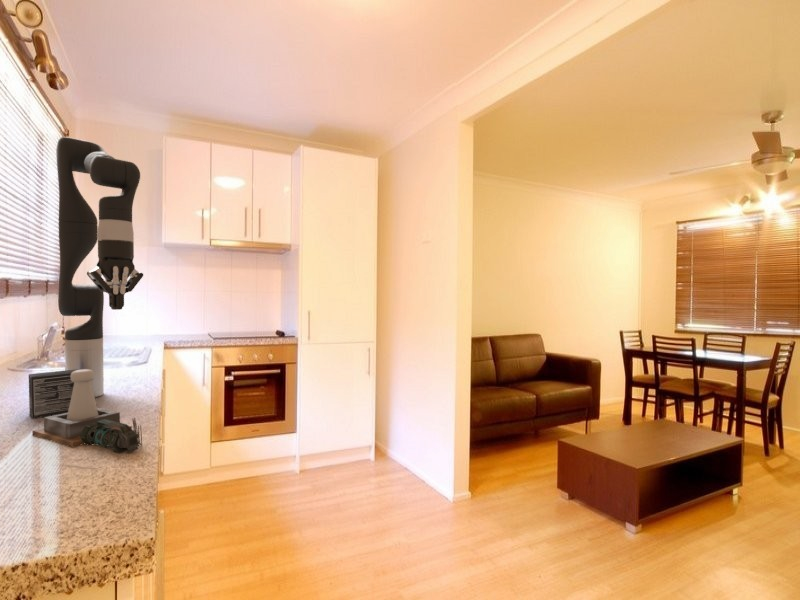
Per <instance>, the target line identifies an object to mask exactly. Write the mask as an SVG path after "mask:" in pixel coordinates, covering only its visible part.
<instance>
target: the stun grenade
mask: <svg viewBox="0 0 800 600" xmlns="http://www.w3.org/2000/svg"><path fill="white" fill-rule="evenodd" d="M131 419H132V429H131V428H130V427H129V426H130V425H129V424H127V423H123V422H120V423H119V422H115V421H111V420H107V419H104V420H100V421H98V422H96V423H92V424H89V425H85V427H84V429H83V431H82V433H81V435H80V438H81V439H82V441H83V442H84V443H85V444H84V445H87V444H88V446H93V445H92V444H94V445H96V446H100V447H104V448H107V449H111V450H112V451H113V452H114V453H116V454H120V453H121V454H122V453H125V452H126V454H130V453H133V452H136V451H138V450H139V447H140V446H141V447H142V446H143V437H142V435H143V433H142V425H141V424H140V425H137V420H136V417H132V418H131ZM105 424H108V425H111V426H115V427H119V428H120V430H117V429H113V428H109V427H104V426H103V425H105Z"/></svg>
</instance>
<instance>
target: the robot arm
mask: <svg viewBox="0 0 800 600" xmlns="http://www.w3.org/2000/svg"><path fill="white" fill-rule="evenodd" d="M55 154H56V155H55V156H56V170H57V178H58V179H57V180H58V181H57V182H58V196H59V197H58V242H59V245H58V246H59V277H58V278H59V281H58V294H57V303H58V304H57V305H58V310H59V313H60V315H62V316H64V317H82V316H84V317H85V316H86V317H87V316H89V319H88V320H87V321H86V322H84V323H83V324H80V325H77V326H74V327H71V328H68V329H66V330H65V332H64V349H65V351H64V355H65V356H64V357H65V358H64V359H65V362H64V363H65V365H64V371H65V370H74V369H78V370H82V369H89V370H92V371H93V372H94V379H93V380H91V383H92V388H93V392H94V397H95V398H97V397H101V396H103V395H104V387H105V386H104V380H105V379H104V377H105V376H104V330H103V329H104V327H103V326H104V325H103V324H104V319H103V318H104V306H105V305H104V303H105V301H104V300H105V297H104V296H105V295H104V293H107V294H108V306H109V308H110V309H111V310H116V311H118V310H122V309H123V308H124V307H125V294H126V293H130V292H133V290H134V289H135V287H136V286H137V285H138V283H140V282H141V280H142V278H144V273H143V272H139V271H138V270H137V269H135V267H136V266H135V264H134V257H135V255H134V254H135V253H134V248H135V247H134V243H135V238H134V233H135V232H134V226H133V205H134V200H135V195H136V193H137V189H138V187H139V184H140V180H141V172H140V169H139V167H138V166H137V165H136V164H135V163H134V162H131V161H128V160H123V159H119V158H118V159H117V158H115V157H113V156H112V155H110V154H108V153H107V152H106V151H105V149H104V148H103V147H102V146H101V145H99V144H97V143H96V142H92V141H90V140H89V141H88V140H83V139H78V138H73V137H68V136H61V137H59V138H58V140H57V142H56V147H55ZM73 172H76V173H82V174H87V175H88V174H89V175H90V176H89V177H90V179H91V181H92V183H93V184H96V185H98V186H100V187H106V188H114V189H120V190H121V193H120V194H119V195H108V196H102V197H100V199H99V201H98V219H97V216H96V214H95V211H94V210H93V209H92V207H91V206H90V204H89V203H88V202H87V201H86V199H85V198H84V196H83V194H82V193H81V192H80V190H79V187H78V186H77V184H76V183H77V182H76V180H75V177H74V173H73ZM96 244H97V257H98V258H97V259H98V261H97V263H96V266H95V268H94V269H92V270H88V271H87V272H86V275H87V277H89V279H90V280H91V282H92V283H93V284H73V279H74V277H75V274H76V273H77V270H78V268H79V267H80V266H81V264H82V263H83V262H84V260H85V259H86V258H87V257H88V256H89V254H90V253H91V252H92V250H93V249H94V248H95V246H96ZM102 276H103V277H102ZM103 278H104V279H103ZM128 278H129V279H128Z"/></svg>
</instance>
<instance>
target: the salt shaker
mask: <svg viewBox="0 0 800 600" xmlns="http://www.w3.org/2000/svg"><path fill="white" fill-rule="evenodd" d="M93 379H94V372H93V371H92V370H89V369H82V370H76V371H73V372H72V373H71V381H72V382H74V386H73V392H72V397H71V401H70V406H69V410H68V415H67V420H70V421H78V420H82V419H86V418H91V417H95V416H99V415H98V411H97V408H98V406H97V402H96V397H94V392H93V388H92V383H91V380H93Z"/></svg>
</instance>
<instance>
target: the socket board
mask: <svg viewBox="0 0 800 600" xmlns="http://www.w3.org/2000/svg"><path fill="white" fill-rule="evenodd" d="M97 411H98V415H99V416H95V417H91V418H86V419H82V420H78V421H70V420H67V415H68V413H63V414H58V415H52V416H46V417H43V427H42V428H37V429H34V430H32V436H34V437H37V438H41V439H44V440H47V439H48V440H47V441H50V440H52V441H51V442H54V441H55V442H54V443H57V442H58V443H57V444H60V443H61V444H60V445H63V444H64V446H67V445H68V446H67V447H70V446H71V447H70V448H75V447H78V445H79V446H82V445H81V444H83V445H85V444H84V442H83V441H82V439H81V438H80V435H81V433H82V431H83V429H84V427H85V425H89V424H92V423H96V422H98V421H100V420H104V419H107V420H111V421H115V422H119V423H121V415H120V414H121V413H120V411H115V410H110V409H107V408H101V407H97ZM103 426H104V427H109V428H113V429H117V430H120V428H119V427H115V426H111V425H108V424H105V425H103ZM128 426H129V427H130V428H131V429H132V430H133V425H128Z"/></svg>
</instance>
